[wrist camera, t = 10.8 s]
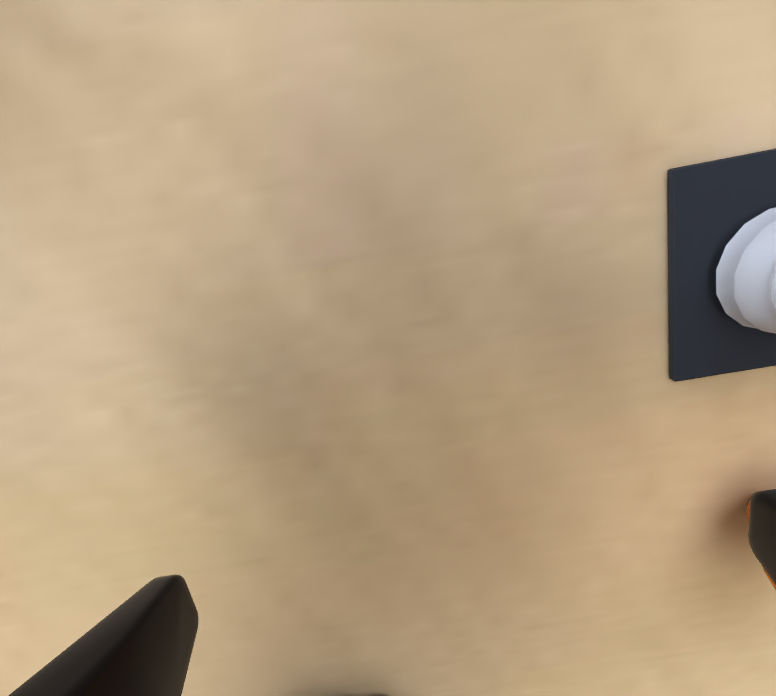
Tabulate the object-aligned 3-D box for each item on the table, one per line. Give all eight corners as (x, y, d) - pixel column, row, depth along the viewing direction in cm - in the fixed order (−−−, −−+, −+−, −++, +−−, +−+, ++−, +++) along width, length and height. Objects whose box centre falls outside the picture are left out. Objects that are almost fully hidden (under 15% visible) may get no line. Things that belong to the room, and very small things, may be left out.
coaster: (853, 348, 19) (862, 351, 18) (669, 378, 19) (674, 382, 19) (878, 128, 16) (890, 127, 16) (667, 169, 17) (673, 168, 17)
